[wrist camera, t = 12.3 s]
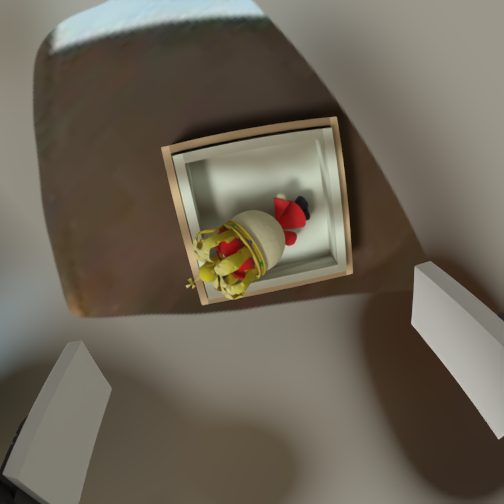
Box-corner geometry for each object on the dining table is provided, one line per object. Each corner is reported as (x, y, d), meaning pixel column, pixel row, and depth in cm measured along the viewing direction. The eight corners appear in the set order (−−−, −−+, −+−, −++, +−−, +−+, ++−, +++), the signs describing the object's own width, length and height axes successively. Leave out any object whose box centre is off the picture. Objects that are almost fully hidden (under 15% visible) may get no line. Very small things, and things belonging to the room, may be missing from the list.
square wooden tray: (168, 146, 32) (159, 147, 28) (324, 118, 33) (340, 116, 28) (203, 288, 39) (201, 309, 34) (341, 260, 39) (355, 277, 35)
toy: (276, 172, 34) (156, 243, 28) (323, 185, 28) (187, 274, 23) (289, 225, 38) (186, 296, 33) (334, 245, 32) (219, 332, 27)
